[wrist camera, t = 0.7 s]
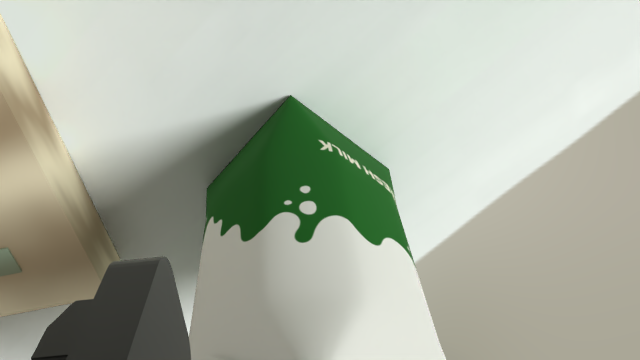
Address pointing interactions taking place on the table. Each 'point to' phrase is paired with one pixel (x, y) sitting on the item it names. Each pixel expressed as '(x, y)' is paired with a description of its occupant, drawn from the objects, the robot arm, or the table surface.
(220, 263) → the milk carton
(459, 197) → the table surface
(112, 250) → the fader console
